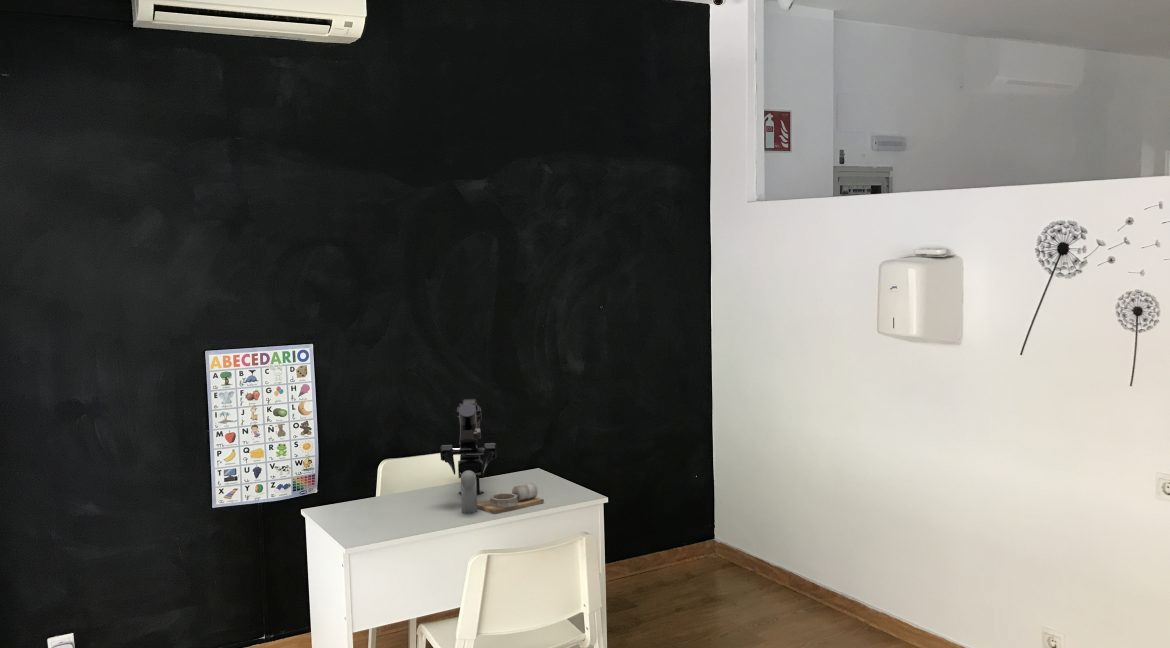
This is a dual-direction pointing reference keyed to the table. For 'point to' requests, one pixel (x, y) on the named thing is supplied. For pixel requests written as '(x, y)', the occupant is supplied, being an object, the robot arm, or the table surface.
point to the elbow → (468, 492)
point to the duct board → (512, 499)
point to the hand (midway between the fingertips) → (468, 473)
